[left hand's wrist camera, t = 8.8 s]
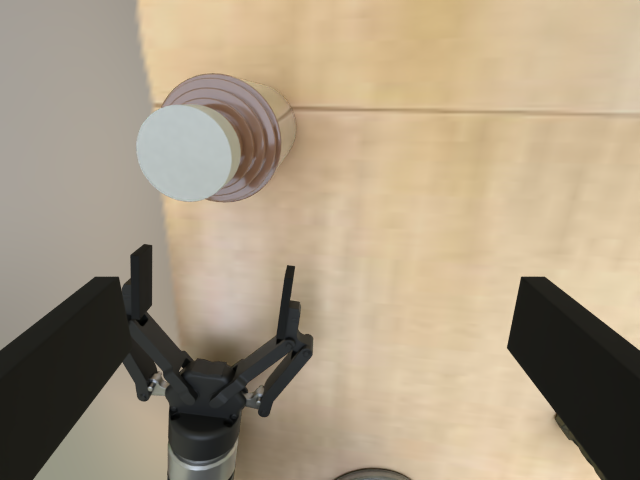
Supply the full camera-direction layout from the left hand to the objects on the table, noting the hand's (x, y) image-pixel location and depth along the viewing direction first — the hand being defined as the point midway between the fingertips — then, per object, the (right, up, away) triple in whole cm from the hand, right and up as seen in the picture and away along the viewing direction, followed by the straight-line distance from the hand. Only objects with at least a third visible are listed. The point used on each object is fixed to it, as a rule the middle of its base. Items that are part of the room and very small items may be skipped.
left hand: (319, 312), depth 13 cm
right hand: (-10, +1, +22) cm, 24 cm away
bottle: (-6, +13, +24) cm, 28 cm away
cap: (-6, +6, +5) cm, 11 cm away
